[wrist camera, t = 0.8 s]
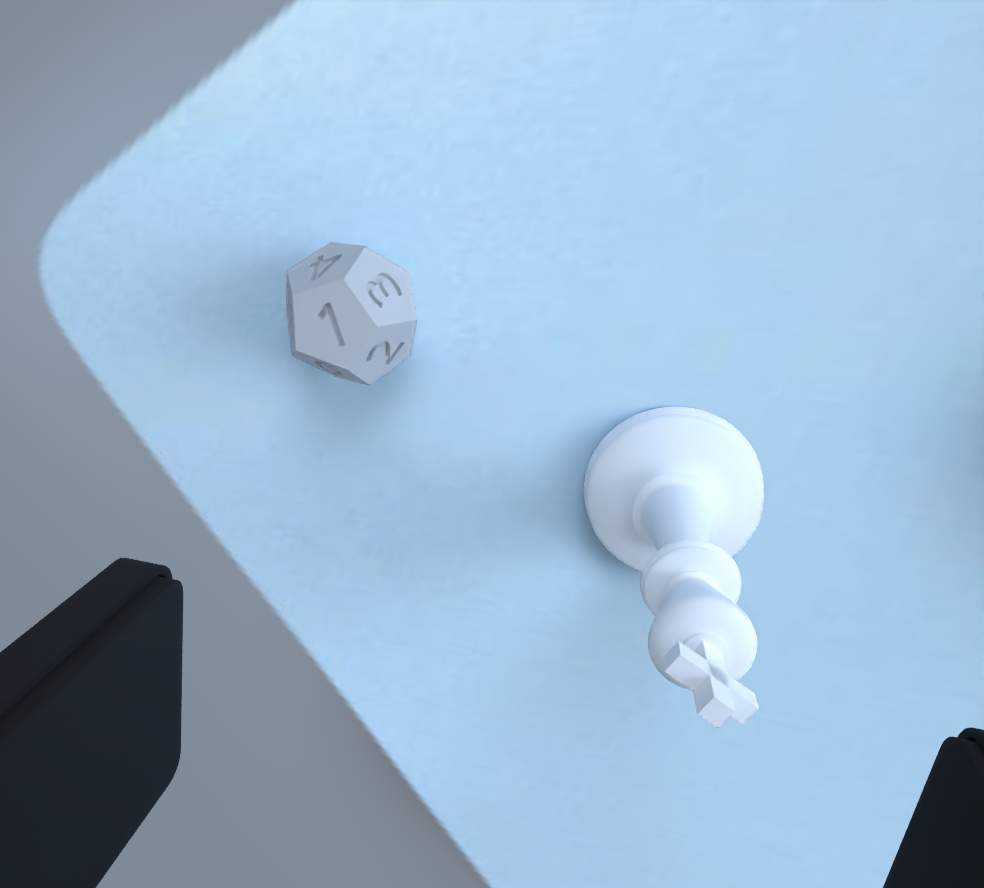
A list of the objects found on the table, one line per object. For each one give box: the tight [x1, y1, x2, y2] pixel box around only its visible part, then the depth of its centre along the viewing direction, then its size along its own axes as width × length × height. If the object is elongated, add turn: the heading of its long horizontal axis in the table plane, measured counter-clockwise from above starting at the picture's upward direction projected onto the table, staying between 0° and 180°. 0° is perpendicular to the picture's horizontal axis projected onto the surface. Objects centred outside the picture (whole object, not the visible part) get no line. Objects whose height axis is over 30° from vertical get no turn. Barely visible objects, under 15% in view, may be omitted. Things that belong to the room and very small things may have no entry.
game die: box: [286, 242, 417, 385], centre depth 21 cm, size 4×4×3 cm
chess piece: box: [584, 407, 764, 728], centre depth 18 cm, size 5×5×10 cm
